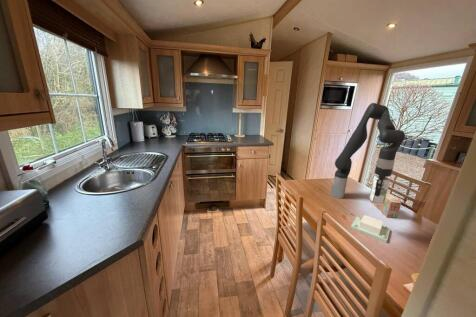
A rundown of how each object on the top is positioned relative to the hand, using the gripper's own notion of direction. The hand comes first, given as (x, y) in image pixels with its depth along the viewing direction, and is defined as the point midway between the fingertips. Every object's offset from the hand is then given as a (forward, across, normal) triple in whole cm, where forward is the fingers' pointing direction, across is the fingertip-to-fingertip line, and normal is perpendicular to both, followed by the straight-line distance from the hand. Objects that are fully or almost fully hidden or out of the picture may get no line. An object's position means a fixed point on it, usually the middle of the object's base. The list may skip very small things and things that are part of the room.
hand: (378, 193), depth 109 cm
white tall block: (+5, 0, 0) cm, 5 cm away
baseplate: (+24, 0, 0) cm, 24 cm away
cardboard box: (+25, -32, +2) cm, 41 cm away
